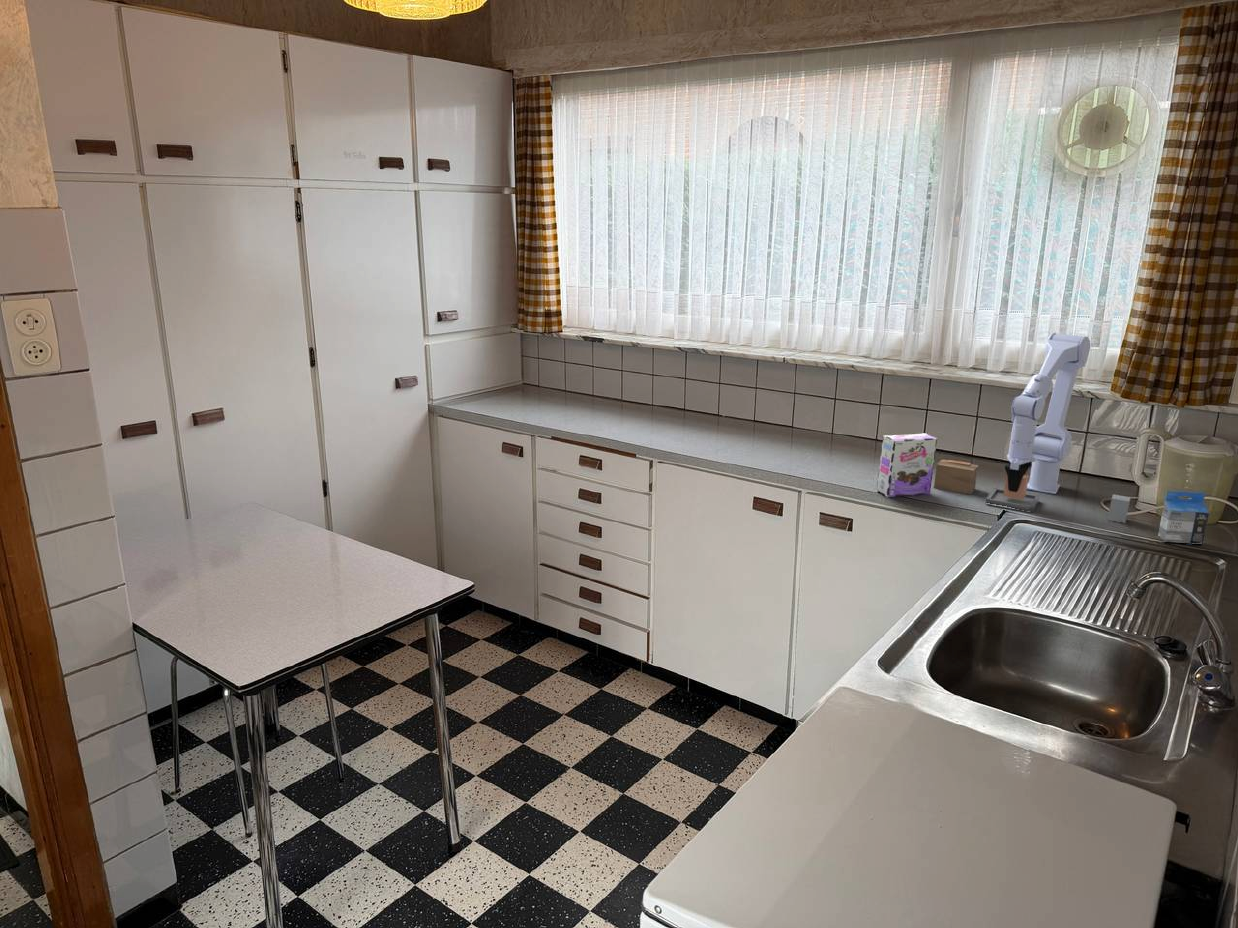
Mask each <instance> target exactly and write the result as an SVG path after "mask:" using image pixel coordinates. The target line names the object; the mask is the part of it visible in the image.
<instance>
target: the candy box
mask: <svg viewBox="0 0 1238 928" xmlns="http://www.w3.org/2000/svg"><path fill="white" fill-rule="evenodd" d="M937 442H938V438H937V437H935V436H932V435H930V434H928V433H924V432H923V433H914V434H893V435H891V434H890V435H886V434H885V435H883V436H882V442H881V450H880V458H879V467H878V474H877V475H878V476H877V481H876V488H875V489H876V490H877V492H878V491H879V492H880V494H881V495H883V496H885V497H886V498H894V497H907V496H906V495H912V496H923V495H922V494H926V495H931V488H932V480H933V475H934V474H933V472H934V465H935V459H936V458H935V457H936V450H937ZM879 492H878V493H879Z"/></svg>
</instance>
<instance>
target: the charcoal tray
mask: <svg viewBox="0 0 1238 928" xmlns="http://www.w3.org/2000/svg"><path fill="white" fill-rule="evenodd" d="M1003 494H1004V489H1003V488H996V487H994V488H993V489H992V490H991V492H990V493H989V494H988V496H987V498H986V499H985V504H986V503H990V504H996V505H1002V506H1007V507H1011V508H1015V509H1019V510H1024V511H1030V512H1032V511H1033V512H1034V510H1035V509H1036V507H1035V506H1037V505H1038V503H1039V501H1040V495H1038V494H1031V493H1026V495H1025V497H1024V499H1023V500H1022V499H1016V498H1010V497H1005V496H1003ZM1036 504H1037V505H1036ZM1034 508H1035V509H1034ZM1024 511H1023V512H1024ZM1033 512H1032V513H1033Z"/></svg>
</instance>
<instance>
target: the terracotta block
mask: <svg viewBox="0 0 1238 928" xmlns="http://www.w3.org/2000/svg"><path fill="white" fill-rule="evenodd" d="M1029 478H1030V475H1029V474H1027V473H1025V474H1024V476H1023V478H1022V480H1021V483H1020V486H1019V489H1018V491H1017V492H1013V491H1009V489H1008V477H1007V474H1006V476H1005V481H1004V487H1003V488H1004V489H1003V490H1004V494H1003V496H1005V497H1010V498H1016V499H1022V500H1023V499H1024V497H1025V495H1026V494H1027V490H1028V489H1027V484H1028V482H1029Z"/></svg>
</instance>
